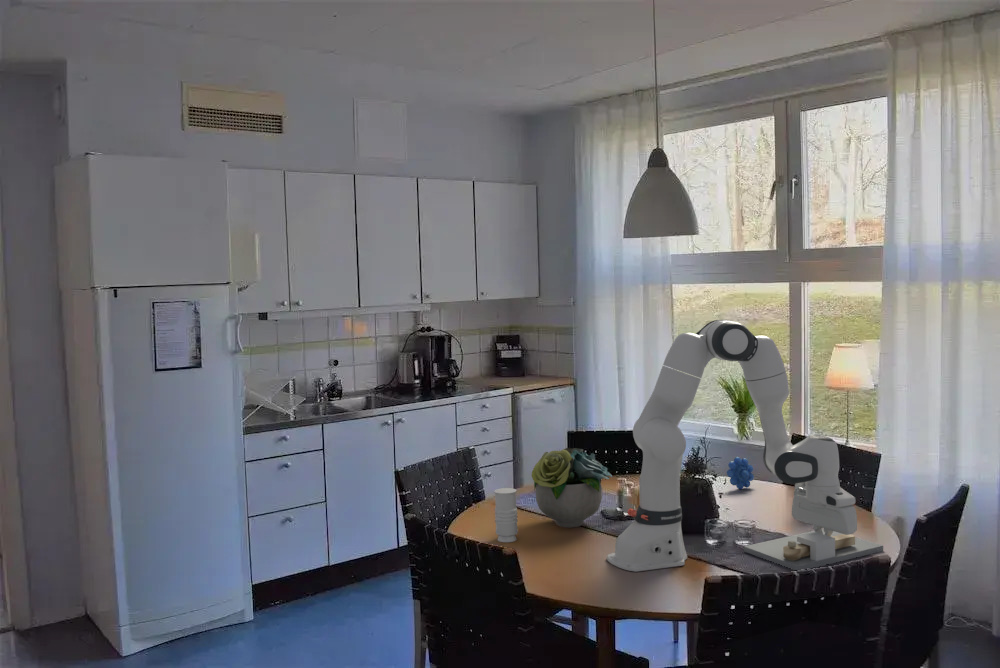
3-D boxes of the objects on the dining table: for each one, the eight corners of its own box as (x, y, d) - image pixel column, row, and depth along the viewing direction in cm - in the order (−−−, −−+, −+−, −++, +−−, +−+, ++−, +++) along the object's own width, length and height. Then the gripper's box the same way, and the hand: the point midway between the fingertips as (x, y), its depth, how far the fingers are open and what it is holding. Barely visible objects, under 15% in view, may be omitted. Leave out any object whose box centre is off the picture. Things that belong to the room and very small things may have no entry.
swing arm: (792, 560, 223) (792, 551, 223) (779, 556, 227) (779, 547, 227) (857, 545, 234) (857, 536, 234) (844, 541, 238) (844, 532, 237)
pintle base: (798, 572, 220) (797, 547, 220) (744, 551, 238) (743, 528, 238) (883, 550, 235) (883, 527, 234) (826, 533, 252) (825, 511, 252)
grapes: (735, 493, 302) (734, 460, 301) (723, 489, 308) (722, 457, 307) (761, 489, 306) (760, 456, 305) (749, 485, 312) (748, 453, 312)
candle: (506, 534, 262) (505, 486, 262) (523, 538, 257) (521, 490, 257) (490, 539, 258) (489, 491, 257) (507, 544, 253) (505, 494, 252)
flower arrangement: (565, 509, 288) (563, 438, 287) (624, 522, 271) (622, 447, 269) (514, 526, 271) (511, 450, 270) (573, 541, 253) (571, 460, 252)
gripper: (786, 487, 243) (786, 534, 243) (843, 502, 224) (844, 554, 225) (802, 484, 245) (803, 531, 246) (860, 499, 227) (861, 549, 228)
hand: (823, 542), depth 236 cm, fingers closed
